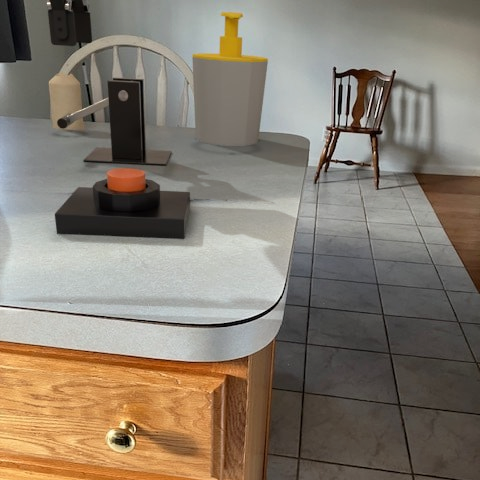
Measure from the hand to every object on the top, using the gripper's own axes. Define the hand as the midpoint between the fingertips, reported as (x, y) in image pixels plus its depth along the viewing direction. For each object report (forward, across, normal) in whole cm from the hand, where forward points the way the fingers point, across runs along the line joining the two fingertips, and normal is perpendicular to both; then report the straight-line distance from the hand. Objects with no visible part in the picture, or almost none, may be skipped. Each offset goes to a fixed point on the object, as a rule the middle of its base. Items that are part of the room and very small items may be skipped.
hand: (73, 43), depth 76 cm
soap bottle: (+16, -17, +22) cm, 32 cm away
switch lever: (+9, +1, +4) cm, 10 cm away
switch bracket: (+16, +1, +7) cm, 18 cm away
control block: (+16, +28, +11) cm, 34 cm away
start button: (+12, +28, +11) cm, 33 cm away
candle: (+16, -22, -8) cm, 28 cm away
